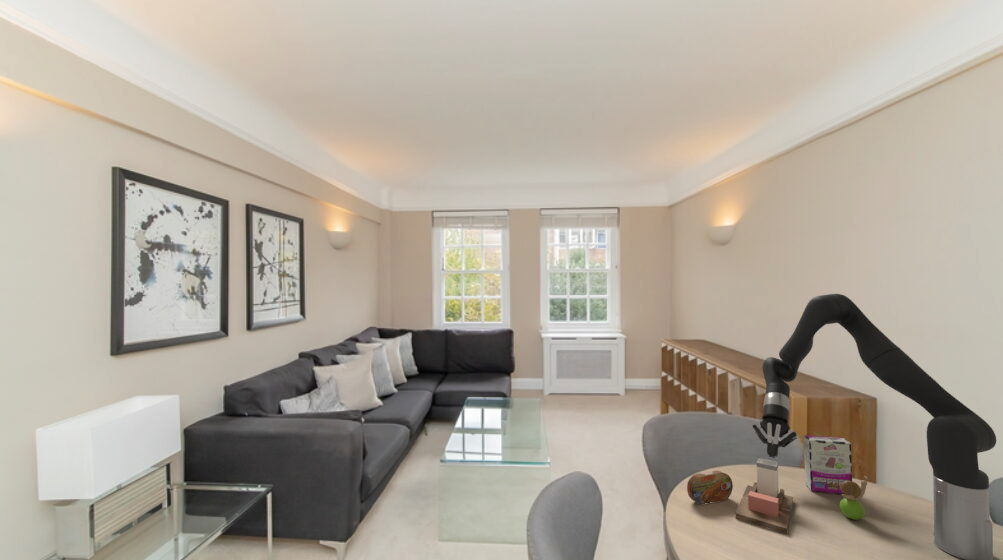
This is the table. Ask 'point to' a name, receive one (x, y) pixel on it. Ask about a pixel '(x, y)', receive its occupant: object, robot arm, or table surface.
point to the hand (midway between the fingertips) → (772, 456)
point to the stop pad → (763, 504)
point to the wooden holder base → (764, 519)
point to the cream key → (767, 477)
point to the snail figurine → (853, 499)
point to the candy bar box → (827, 463)
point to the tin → (709, 487)
